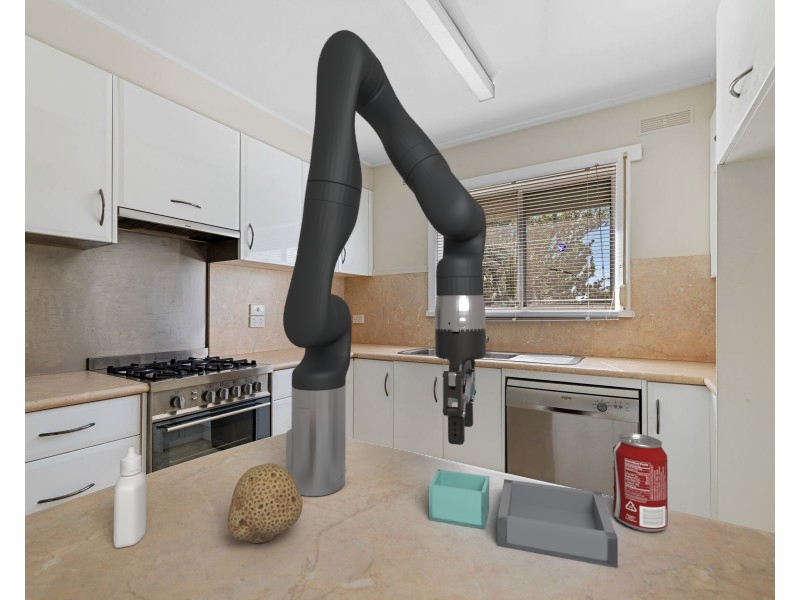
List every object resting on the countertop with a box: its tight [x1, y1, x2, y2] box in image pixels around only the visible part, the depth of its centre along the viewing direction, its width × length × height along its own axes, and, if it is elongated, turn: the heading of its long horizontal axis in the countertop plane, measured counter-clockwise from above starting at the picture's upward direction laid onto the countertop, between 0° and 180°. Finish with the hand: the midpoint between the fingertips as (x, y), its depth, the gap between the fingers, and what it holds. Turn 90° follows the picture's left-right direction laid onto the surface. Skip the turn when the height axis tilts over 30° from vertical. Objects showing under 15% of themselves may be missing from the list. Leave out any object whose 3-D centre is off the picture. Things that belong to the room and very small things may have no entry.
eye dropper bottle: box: [113, 446, 148, 549], centre depth 55 cm, size 4×6×12 cm
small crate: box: [428, 469, 490, 530], centre depth 61 cm, size 8×6×5 cm
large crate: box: [497, 478, 619, 569], centre depth 57 cm, size 14×13×4 cm
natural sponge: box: [227, 462, 303, 544], centre depth 54 cm, size 9×9×10 cm
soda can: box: [612, 432, 669, 533], centre depth 59 cm, size 7×7×12 cm
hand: (461, 434), depth 61 cm, fingers open, 8 cm apart
